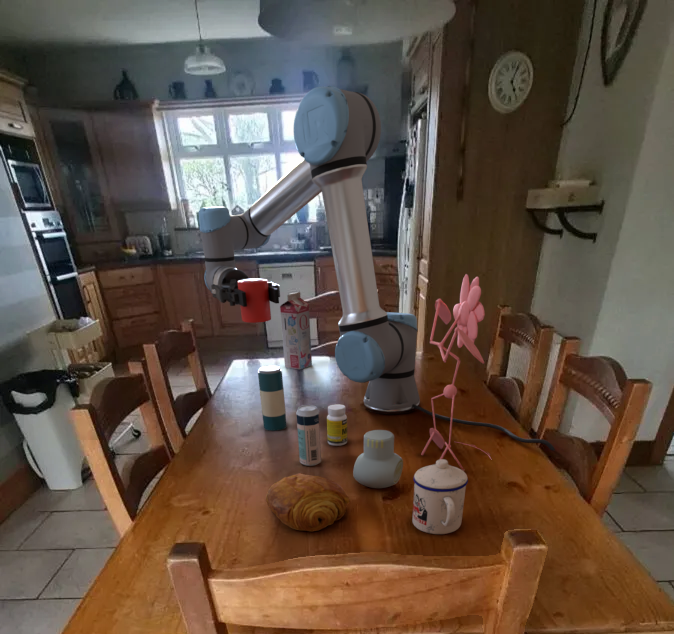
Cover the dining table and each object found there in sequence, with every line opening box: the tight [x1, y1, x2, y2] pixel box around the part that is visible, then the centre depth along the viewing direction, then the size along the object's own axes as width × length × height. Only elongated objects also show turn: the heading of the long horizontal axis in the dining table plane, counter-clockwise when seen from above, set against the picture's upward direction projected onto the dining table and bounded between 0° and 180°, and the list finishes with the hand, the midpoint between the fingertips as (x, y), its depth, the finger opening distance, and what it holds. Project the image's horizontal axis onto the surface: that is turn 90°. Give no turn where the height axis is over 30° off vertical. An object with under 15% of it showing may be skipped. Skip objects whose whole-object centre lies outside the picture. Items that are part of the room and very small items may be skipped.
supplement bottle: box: [326, 403, 348, 447], centre depth 127 cm, size 5×5×8 cm
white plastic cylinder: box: [295, 404, 322, 467], centre depth 117 cm, size 5×5×12 cm
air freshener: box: [352, 429, 404, 489], centre depth 108 cm, size 11×8×10 cm
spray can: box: [257, 365, 288, 432], centre depth 135 cm, size 6×6×14 cm
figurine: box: [420, 273, 492, 472], centre depth 109 cm, size 15×26×35 cm, turn 9°
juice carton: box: [279, 291, 313, 370], centre depth 181 cm, size 7×7×22 cm
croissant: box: [265, 472, 351, 532], centre depth 99 cm, size 14×16×8 cm
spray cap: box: [237, 277, 272, 324], centre depth 122 cm, size 7×7×8 cm
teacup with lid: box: [411, 458, 469, 535], centre depth 93 cm, size 12×9×12 cm
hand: (260, 297), depth 117 cm, fingers closed on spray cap, 7 cm apart
